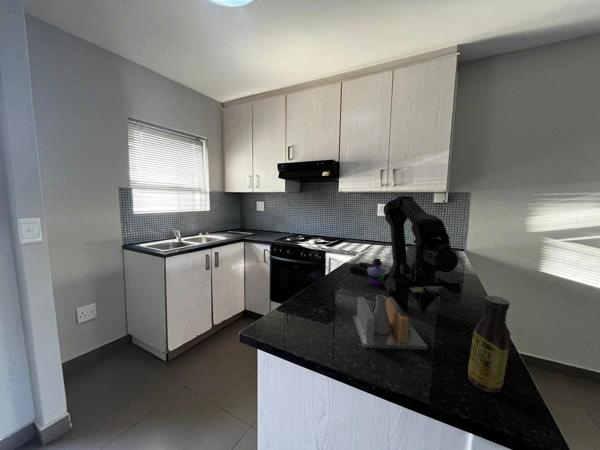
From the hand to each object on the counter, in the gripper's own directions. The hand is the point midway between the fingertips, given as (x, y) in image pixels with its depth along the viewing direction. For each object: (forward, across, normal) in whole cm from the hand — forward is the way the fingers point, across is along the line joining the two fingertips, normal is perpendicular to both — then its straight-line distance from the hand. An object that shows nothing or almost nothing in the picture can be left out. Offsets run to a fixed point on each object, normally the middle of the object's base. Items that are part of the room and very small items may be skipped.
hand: (421, 312), depth 74 cm
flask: (+6, +12, 0) cm, 13 cm away
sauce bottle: (+7, -5, +20) cm, 22 cm away
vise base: (+6, +10, 0) cm, 12 cm away
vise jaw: (+5, +8, 0) cm, 9 cm away
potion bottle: (+7, +1, -41) cm, 42 cm away
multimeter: (+7, -1, -56) cm, 57 cm away
